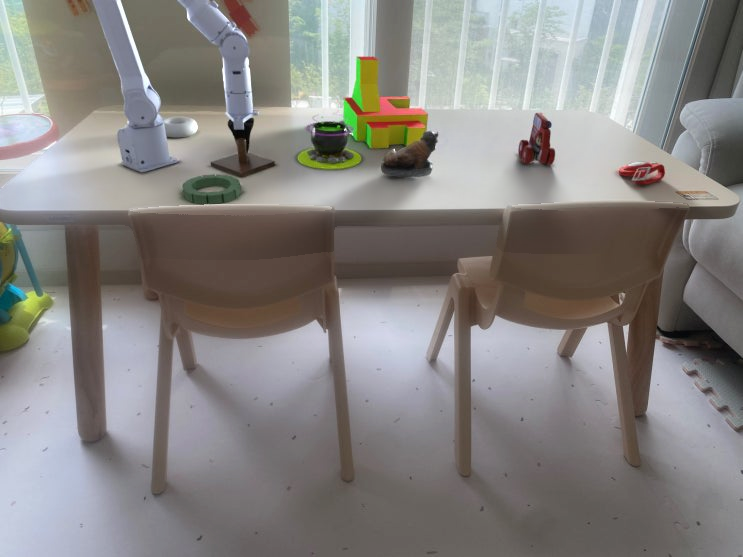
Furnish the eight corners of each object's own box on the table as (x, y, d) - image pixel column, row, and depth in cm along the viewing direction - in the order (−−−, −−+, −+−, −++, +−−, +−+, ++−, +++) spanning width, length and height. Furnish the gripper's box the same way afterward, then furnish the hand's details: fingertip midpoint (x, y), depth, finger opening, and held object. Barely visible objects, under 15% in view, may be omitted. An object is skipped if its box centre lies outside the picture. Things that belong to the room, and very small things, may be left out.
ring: (250, 197, 105) (249, 188, 104) (194, 209, 99) (193, 200, 98) (228, 178, 112) (227, 170, 111) (175, 188, 107) (173, 180, 106)
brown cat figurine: (380, 180, 115) (382, 134, 110) (380, 168, 121) (382, 124, 116) (435, 182, 115) (440, 136, 110) (432, 171, 121) (437, 127, 116)
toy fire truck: (525, 168, 125) (534, 124, 119) (515, 151, 135) (523, 110, 130) (555, 170, 125) (565, 125, 119) (543, 152, 135) (552, 111, 130)
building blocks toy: (361, 148, 132) (363, 71, 123) (343, 120, 153) (344, 53, 143) (432, 146, 136) (440, 71, 127) (405, 119, 157) (410, 53, 147)
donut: (189, 141, 133) (204, 129, 141) (187, 127, 131) (202, 116, 139) (151, 138, 133) (168, 126, 142) (148, 124, 132) (165, 113, 140)
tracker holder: (609, 165, 126) (651, 155, 125) (611, 183, 127) (652, 173, 127) (636, 171, 114) (682, 161, 114) (637, 191, 116) (682, 181, 115)
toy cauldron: (372, 156, 128) (374, 109, 122) (338, 174, 117) (338, 124, 111) (321, 144, 134) (321, 99, 128) (284, 160, 123) (282, 112, 117)
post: (241, 177, 113) (238, 150, 110) (210, 166, 118) (207, 139, 115) (275, 165, 120) (273, 139, 117) (244, 155, 125) (242, 130, 122)
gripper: (255, 99, 109) (260, 162, 117) (257, 83, 122) (262, 141, 129) (220, 99, 108) (227, 162, 116) (226, 83, 121) (232, 142, 128)
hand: (243, 151), depth 122 cm, fingers closed
